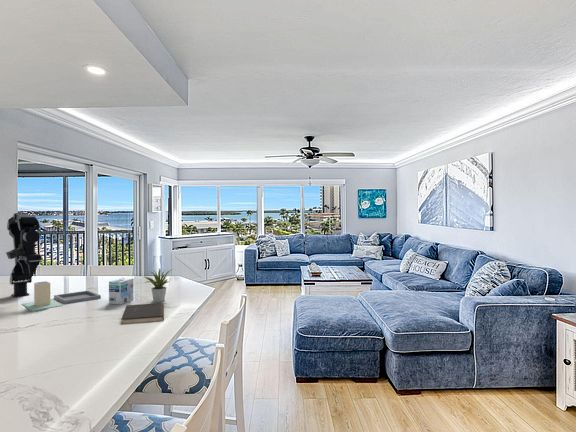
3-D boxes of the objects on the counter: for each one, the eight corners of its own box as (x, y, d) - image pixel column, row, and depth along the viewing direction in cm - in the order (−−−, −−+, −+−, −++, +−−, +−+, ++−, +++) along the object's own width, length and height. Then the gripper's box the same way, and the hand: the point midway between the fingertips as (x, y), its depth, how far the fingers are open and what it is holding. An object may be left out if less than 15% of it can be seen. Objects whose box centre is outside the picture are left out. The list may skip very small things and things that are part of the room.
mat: (22, 305, 178) (22, 303, 178) (51, 301, 187) (51, 299, 187) (32, 311, 168) (32, 310, 168) (62, 306, 176) (62, 305, 176)
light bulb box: (120, 304, 181) (120, 282, 181) (108, 304, 183) (108, 281, 183) (134, 299, 192) (134, 278, 192) (122, 298, 193) (122, 277, 193)
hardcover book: (121, 325, 152) (121, 319, 152) (126, 310, 174) (126, 305, 174) (163, 321, 157) (163, 316, 157) (163, 307, 179) (163, 302, 179)
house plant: (165, 295, 202) (165, 264, 201) (181, 299, 193) (181, 266, 192) (139, 300, 191) (139, 267, 190) (155, 304, 182) (155, 270, 181)
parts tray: (54, 299, 191) (54, 295, 191) (88, 294, 203) (88, 290, 203) (65, 305, 180) (65, 300, 180) (100, 299, 192) (100, 295, 192)
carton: (34, 304, 177) (34, 282, 177) (46, 302, 181) (46, 281, 181) (38, 306, 174) (37, 283, 174) (50, 304, 178) (50, 282, 178)
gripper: (2, 242, 186) (2, 275, 186) (14, 243, 174) (14, 278, 174) (28, 241, 194) (29, 272, 194) (42, 242, 182) (42, 275, 182)
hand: (28, 274), depth 186 cm, fingers open, 9 cm apart
